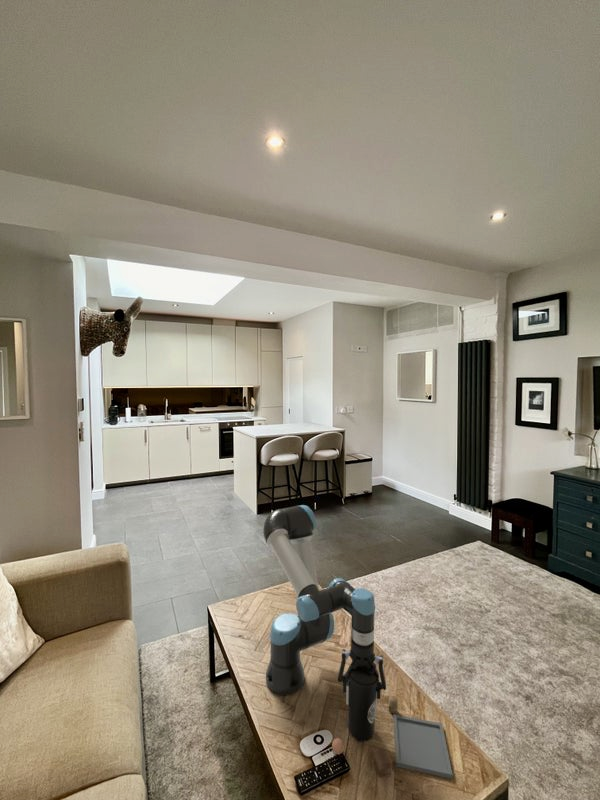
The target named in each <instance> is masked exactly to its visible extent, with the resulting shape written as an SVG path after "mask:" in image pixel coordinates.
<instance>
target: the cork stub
mask: <svg viewBox="0 0 600 800" xmlns="http://www.w3.org/2000/svg"><path fill="white" fill-rule="evenodd" d="M398 701H399V699H398V697H397V696H395V695H389V697H388V713H389V714H390V715H392V716H393V714H396V715H398Z"/></svg>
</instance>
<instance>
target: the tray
mask: <svg viewBox="0 0 600 800" xmlns="http://www.w3.org/2000/svg"><path fill="white" fill-rule="evenodd" d="M392 716H393V717H392V720H393V732H394V733H393V734H394V735H393V736H394V748H395V764H396V767H397V768H402V769H406V770H411V771H416V772H420V773H424V774H428V775H434V776H437V777H442V778H447V779H452V780H453V776H454V775H453V771H452V766H451V761H450V756H449V751H448V745H447V741H446V736H445V731H444V726H443V723H441V722H437V721H433V720H432V721H431V720H427V719H420V718H416V717H413V716H412V717H410V716H406V715H400V714H393V715H392Z"/></svg>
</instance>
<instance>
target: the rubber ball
mask: <svg viewBox="0 0 600 800" xmlns="http://www.w3.org/2000/svg"><path fill="white" fill-rule="evenodd" d="M331 749H332V750H333V751H332V752H334V754H336V755H341V754H342V752H343V751H344V743H343V740H341V738H339V737H338V738H334V739H333V740H332V744H331Z"/></svg>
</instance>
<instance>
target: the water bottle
mask: <svg viewBox="0 0 600 800" xmlns="http://www.w3.org/2000/svg"><path fill="white" fill-rule="evenodd" d="M350 664H351V666H352V664H354V662H353V661H352V660H351V662H350ZM370 666H372V670H370V669H368V668H367V667H361V666H357V667H356V669H351V670H350V673H349V667H347V670H348V679H349V703H348V715H347V716H348V722H347V723H348V725H347V726H348V727H347V728H348V731H349V734H350V735H351V736H352V738H354V739H355V740H357V741H360V742H368V741H370V740H371V739H372V737H373V736H374V733H375V732H374V731H375V720H376V710H375V704H376V691H377V686H378V683H379V681H380V673H379V670H378V669H377V663H376V662H373V663H372V664H371V665H370Z"/></svg>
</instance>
